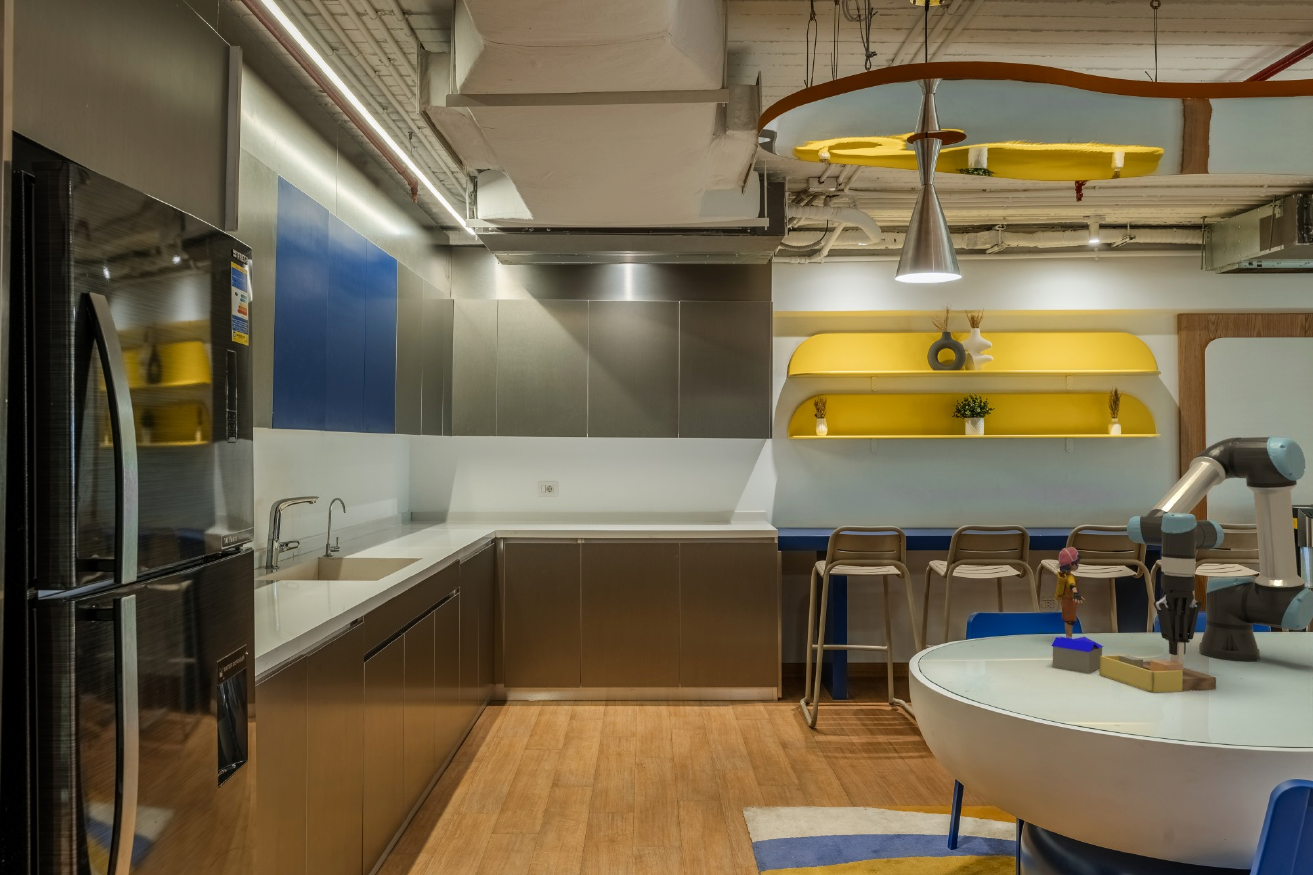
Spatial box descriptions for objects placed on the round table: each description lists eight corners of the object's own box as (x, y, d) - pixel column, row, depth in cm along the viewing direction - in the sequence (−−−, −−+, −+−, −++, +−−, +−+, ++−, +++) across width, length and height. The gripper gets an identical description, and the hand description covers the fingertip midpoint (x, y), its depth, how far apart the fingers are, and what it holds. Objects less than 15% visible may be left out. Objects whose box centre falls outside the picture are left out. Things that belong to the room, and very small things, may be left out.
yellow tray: (1127, 673, 240) (1127, 654, 240) (1182, 691, 222) (1182, 670, 222) (1099, 674, 237) (1099, 655, 238) (1152, 692, 220) (1152, 672, 220)
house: (1063, 661, 253) (1063, 633, 253) (1103, 668, 246) (1103, 639, 246) (1048, 667, 246) (1049, 638, 246) (1089, 674, 238) (1090, 644, 238)
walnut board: (1159, 672, 242) (1159, 660, 242) (1215, 689, 225) (1215, 677, 225) (1127, 673, 240) (1128, 662, 240) (1182, 691, 222) (1182, 678, 222)
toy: (1090, 653, 265) (1091, 551, 265) (1064, 651, 266) (1065, 550, 267) (1070, 637, 288) (1071, 543, 289) (1045, 635, 289) (1047, 542, 290)
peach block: (1166, 671, 230) (1166, 659, 230) (1182, 675, 225) (1182, 663, 225) (1150, 672, 229) (1150, 660, 229) (1166, 677, 224) (1166, 665, 224)
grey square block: (1128, 655, 237) (1119, 655, 236) (1143, 659, 232) (1133, 659, 231) (1128, 674, 237) (1118, 674, 236) (1143, 678, 232) (1133, 679, 231)
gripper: (1187, 572, 234) (1186, 663, 233) (1145, 572, 230) (1144, 664, 230) (1211, 575, 226) (1210, 670, 226) (1168, 576, 223) (1167, 672, 223)
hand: (1177, 667), depth 228 cm, fingers closed
